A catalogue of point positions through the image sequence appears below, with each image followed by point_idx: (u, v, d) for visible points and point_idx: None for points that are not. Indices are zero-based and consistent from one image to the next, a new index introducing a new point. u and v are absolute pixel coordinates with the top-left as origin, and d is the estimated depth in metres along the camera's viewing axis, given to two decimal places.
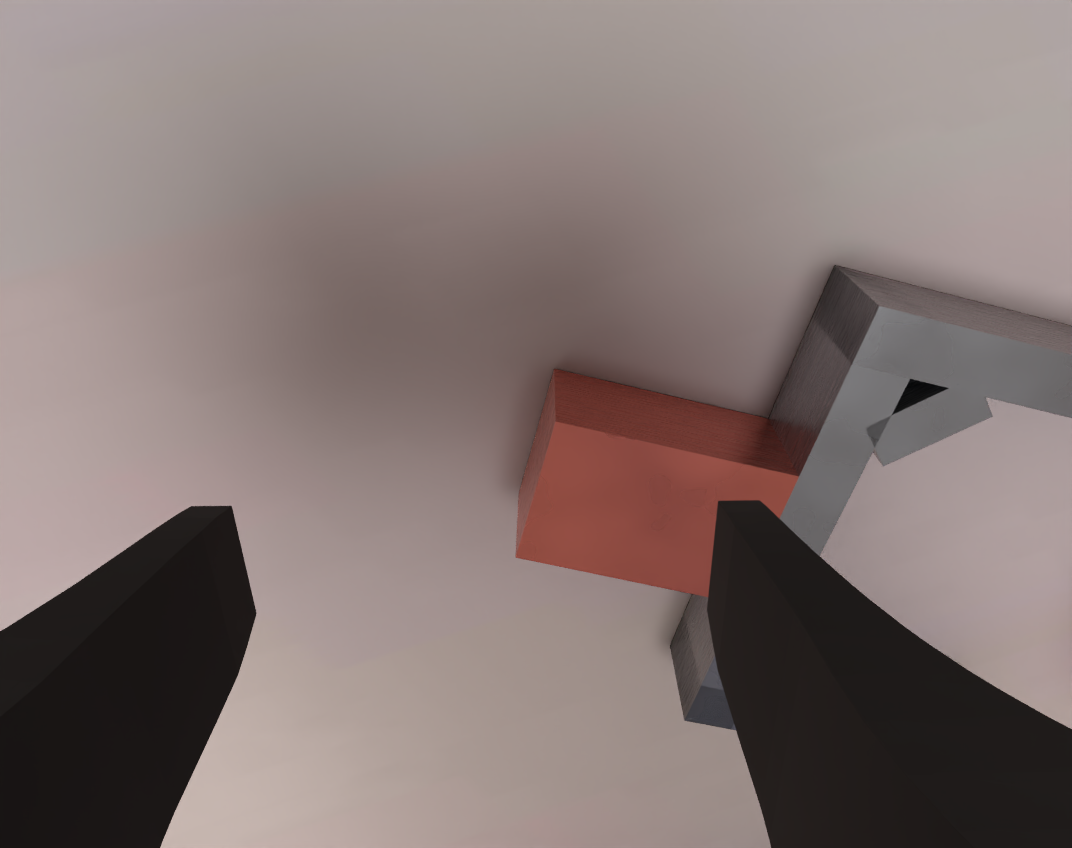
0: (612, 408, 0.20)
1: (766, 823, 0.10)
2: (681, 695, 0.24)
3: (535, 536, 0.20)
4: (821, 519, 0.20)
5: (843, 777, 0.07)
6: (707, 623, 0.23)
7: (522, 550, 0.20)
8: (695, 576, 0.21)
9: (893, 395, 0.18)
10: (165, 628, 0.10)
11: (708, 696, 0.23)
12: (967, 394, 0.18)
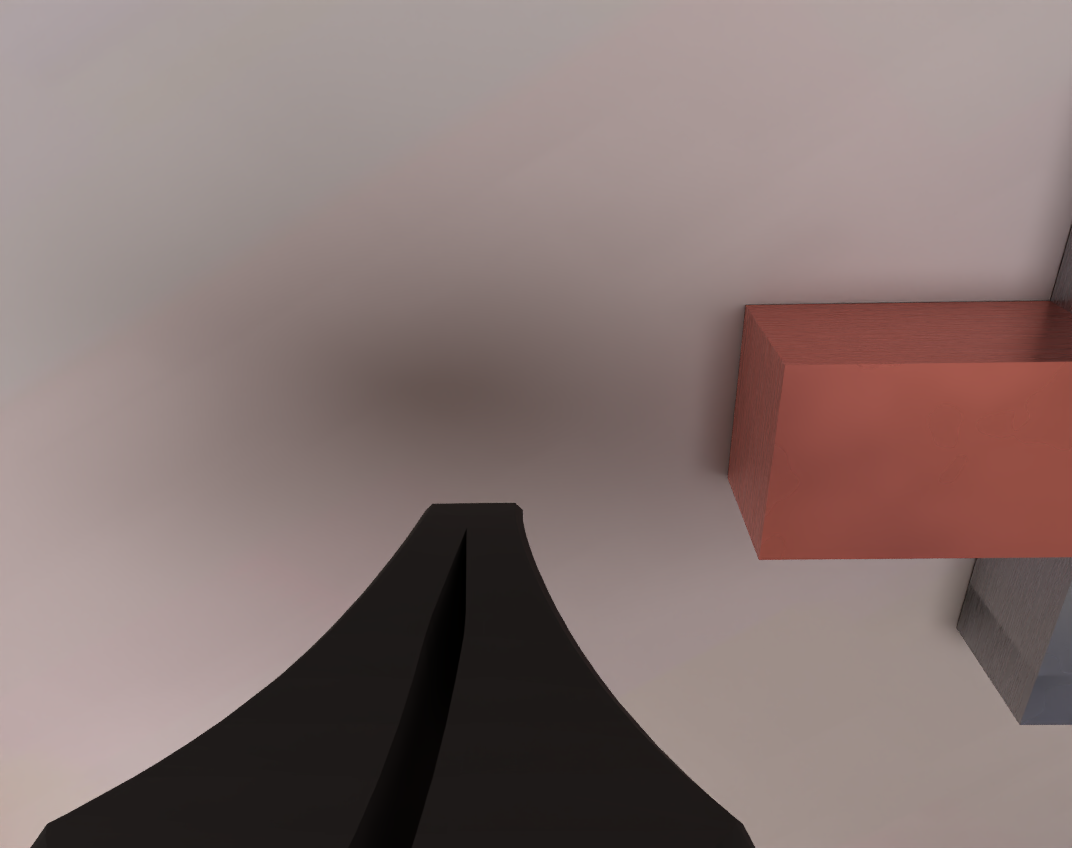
0: (847, 333, 0.15)
1: None
2: (1001, 691, 0.18)
3: (781, 526, 0.15)
4: None
5: None
6: (1021, 591, 0.17)
7: (766, 548, 0.15)
8: (1012, 533, 0.15)
9: None
10: (451, 626, 0.10)
11: (1049, 688, 0.17)
12: None
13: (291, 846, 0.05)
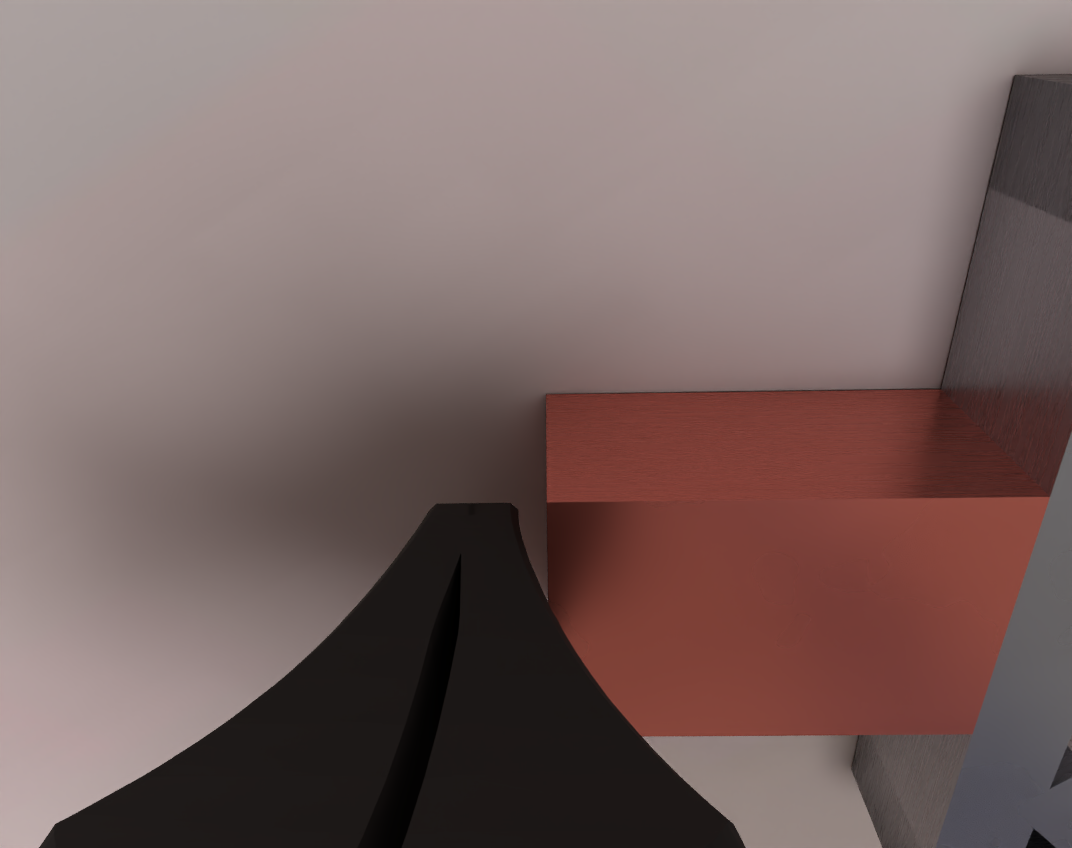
0: (655, 444, 0.11)
1: None
2: None
3: None
4: None
5: None
6: (912, 752, 0.13)
7: None
8: (880, 707, 0.11)
9: None
10: (456, 625, 0.10)
11: None
12: None
13: (300, 846, 0.05)
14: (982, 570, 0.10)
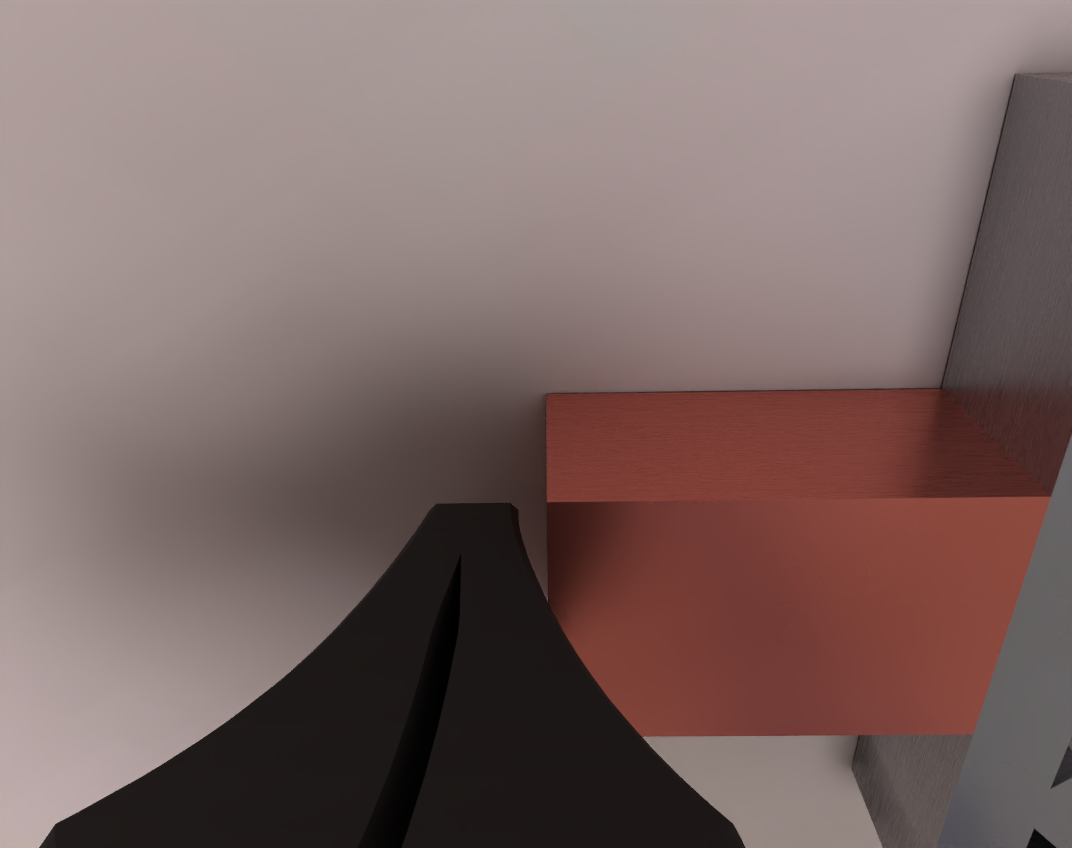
0: (656, 444, 0.11)
1: None
2: None
3: None
4: None
5: None
6: (913, 752, 0.13)
7: None
8: (880, 707, 0.11)
9: None
10: (456, 626, 0.10)
11: None
12: None
13: (301, 846, 0.05)
14: (983, 570, 0.10)
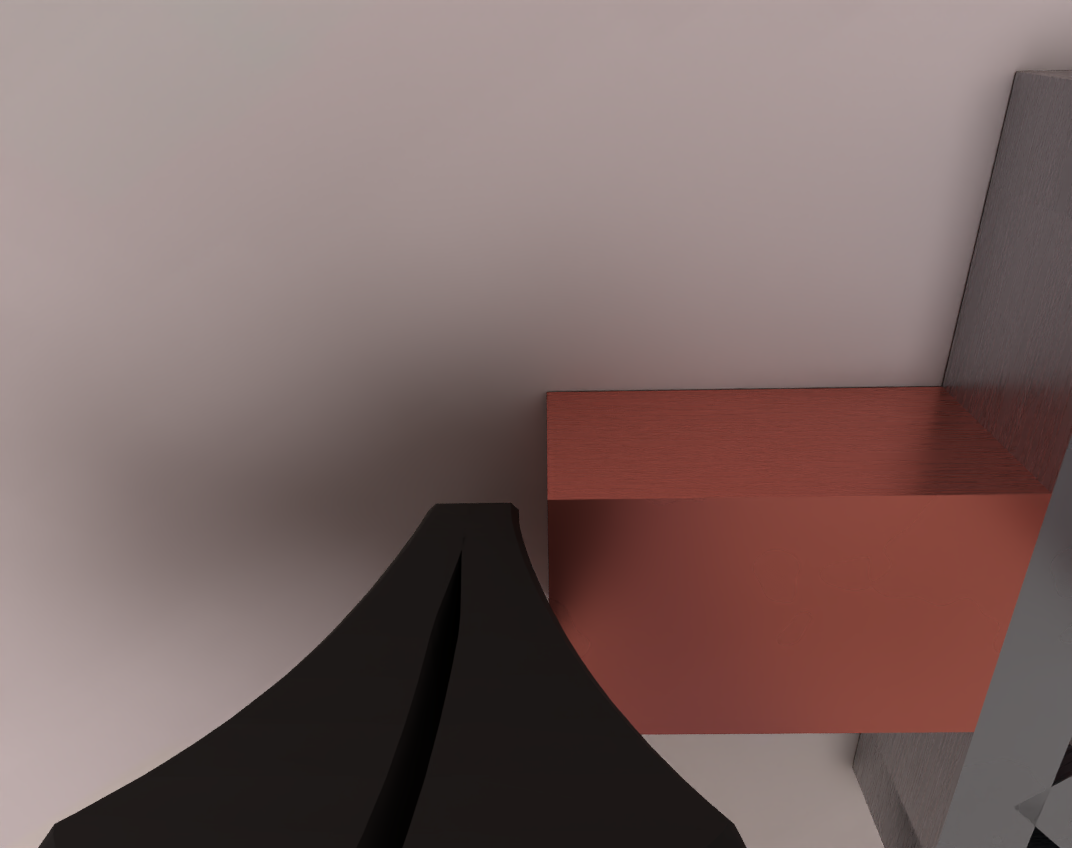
0: (656, 441, 0.11)
1: None
2: None
3: None
4: None
5: None
6: (914, 750, 0.13)
7: None
8: (881, 704, 0.11)
9: None
10: (456, 626, 0.10)
11: None
12: None
13: (300, 846, 0.05)
14: (984, 567, 0.10)
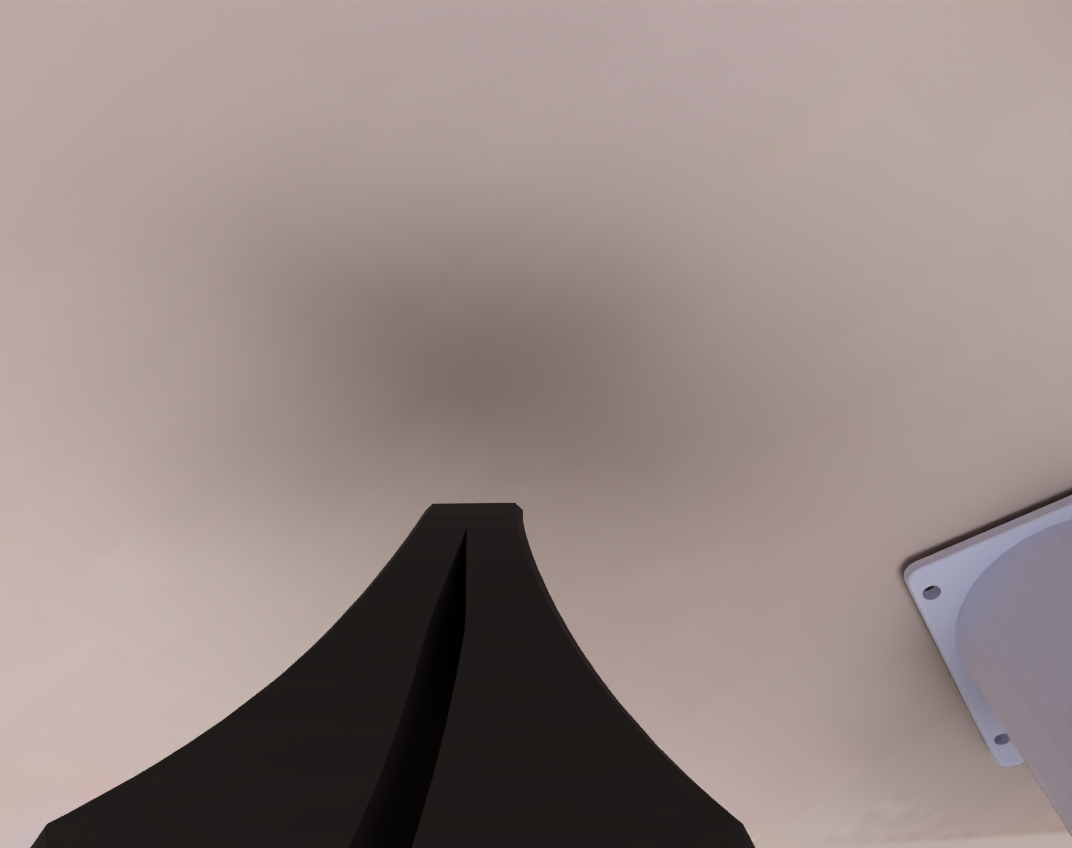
0: None
1: None
2: None
3: None
4: None
5: None
6: None
7: None
8: None
9: None
10: (451, 625, 0.10)
11: None
12: None
13: (292, 846, 0.05)
14: None
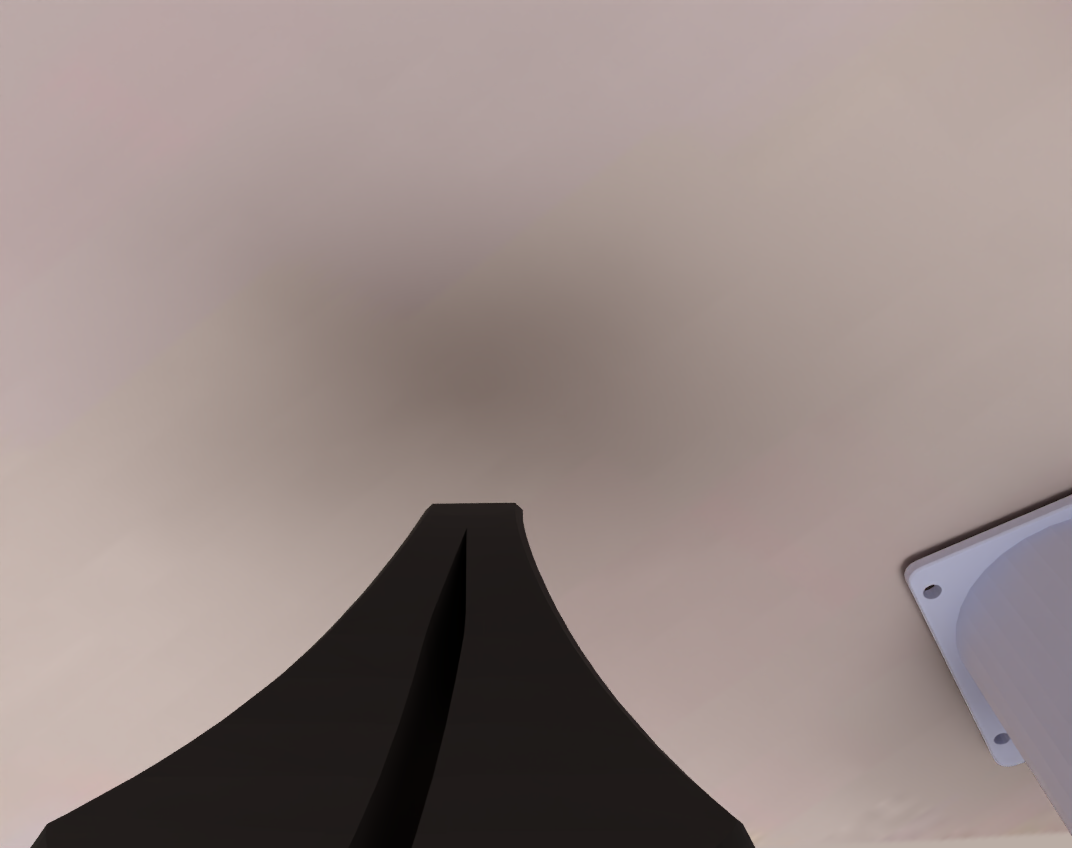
0: None
1: None
2: None
3: None
4: None
5: None
6: None
7: None
8: None
9: None
10: (451, 625, 0.10)
11: None
12: None
13: (292, 846, 0.05)
14: None
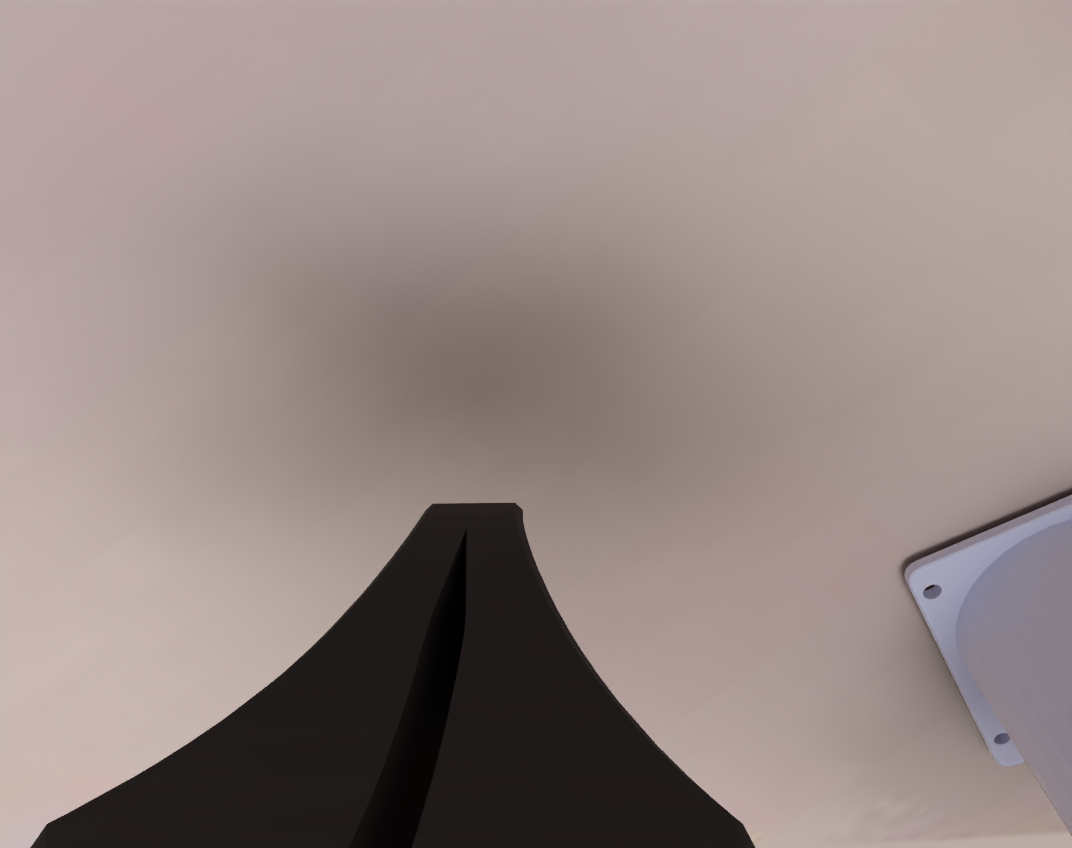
0: None
1: None
2: None
3: None
4: None
5: None
6: None
7: None
8: None
9: None
10: (451, 625, 0.10)
11: None
12: None
13: (292, 846, 0.05)
14: None
